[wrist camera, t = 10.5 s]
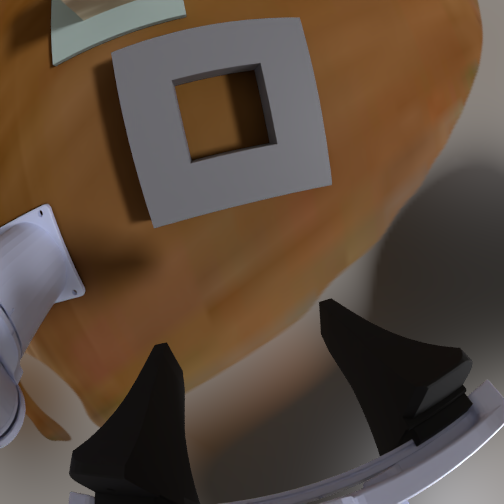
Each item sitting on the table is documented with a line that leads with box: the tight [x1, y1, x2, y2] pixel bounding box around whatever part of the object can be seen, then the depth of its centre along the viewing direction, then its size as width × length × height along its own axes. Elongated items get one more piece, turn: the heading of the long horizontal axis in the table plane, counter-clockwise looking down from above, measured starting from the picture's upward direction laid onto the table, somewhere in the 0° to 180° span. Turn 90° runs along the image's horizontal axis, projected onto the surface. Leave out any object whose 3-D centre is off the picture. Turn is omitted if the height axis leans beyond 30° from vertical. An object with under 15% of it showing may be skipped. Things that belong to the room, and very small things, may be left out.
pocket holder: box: [111, 18, 332, 228], centre depth 15 cm, size 12×12×2 cm
